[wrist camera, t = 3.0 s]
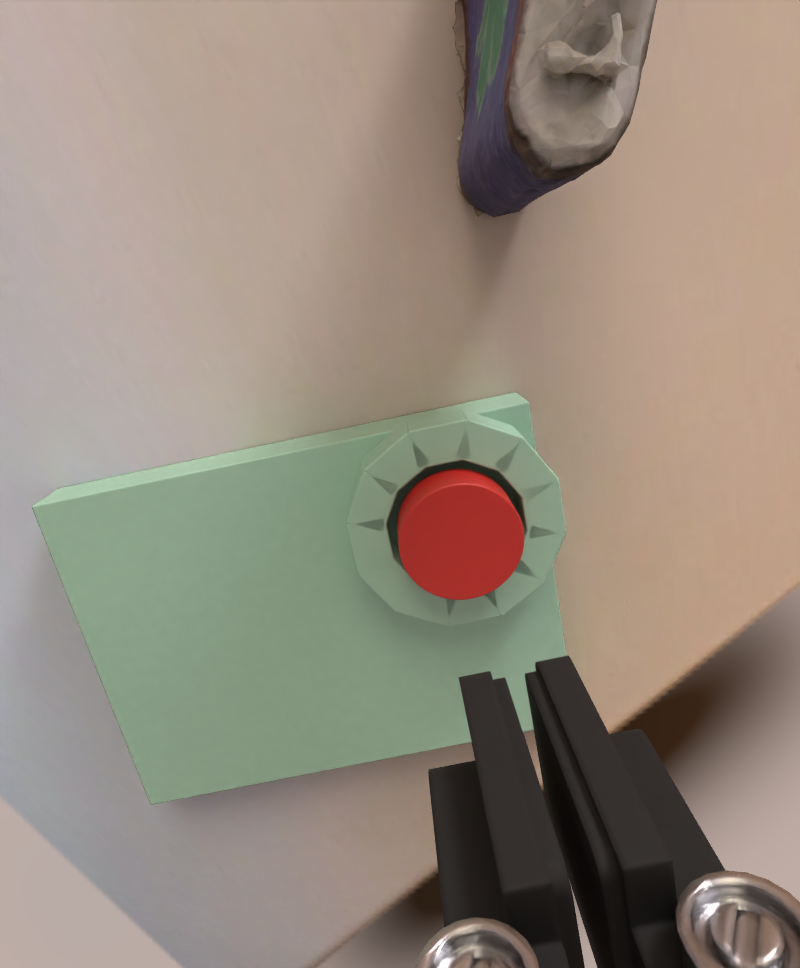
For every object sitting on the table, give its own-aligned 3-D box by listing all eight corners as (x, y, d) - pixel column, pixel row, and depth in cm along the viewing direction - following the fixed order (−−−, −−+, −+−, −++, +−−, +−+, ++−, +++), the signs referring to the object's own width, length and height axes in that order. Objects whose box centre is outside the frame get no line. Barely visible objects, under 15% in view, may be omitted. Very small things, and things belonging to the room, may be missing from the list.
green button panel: (165, 769, 26) (135, 840, 23) (55, 481, 23) (0, 516, 19) (569, 689, 26) (597, 751, 23) (522, 382, 22) (548, 401, 19)
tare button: (409, 588, 21) (412, 611, 19) (385, 481, 20) (386, 498, 18) (522, 565, 21) (533, 587, 19) (504, 456, 20) (514, 471, 18)
